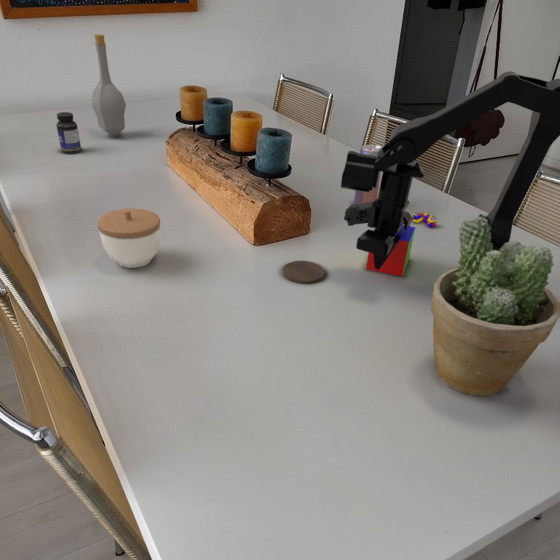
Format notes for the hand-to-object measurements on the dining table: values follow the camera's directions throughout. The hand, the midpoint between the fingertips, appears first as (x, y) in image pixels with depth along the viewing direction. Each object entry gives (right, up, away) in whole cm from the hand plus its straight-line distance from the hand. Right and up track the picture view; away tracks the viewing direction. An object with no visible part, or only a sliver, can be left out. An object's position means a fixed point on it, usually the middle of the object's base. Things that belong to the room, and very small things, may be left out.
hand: (377, 268), depth 114 cm
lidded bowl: (-52, +2, +3) cm, 52 cm away
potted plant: (+11, -23, -24) cm, 35 cm away
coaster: (-15, -1, +2) cm, 16 cm away
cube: (+3, +2, +7) cm, 8 cm away
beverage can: (+3, +24, +34) cm, 41 cm away
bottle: (-78, +60, +73) cm, 122 cm away
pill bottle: (-87, +49, +59) cm, 116 cm away
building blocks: (+17, +17, +27) cm, 36 cm away
